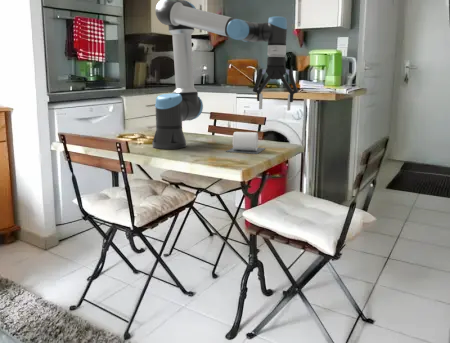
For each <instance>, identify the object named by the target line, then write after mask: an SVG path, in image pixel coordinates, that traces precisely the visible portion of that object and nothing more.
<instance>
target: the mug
mask: <svg viewBox="0 0 450 343" xmlns="http://www.w3.org/2000/svg"><path fill="white" fill-rule="evenodd" d="M232 148H233V149H234V150H243V151H257V148H259V133H258V132H255V131H254V132H252V131H234V132H233V134H232Z"/></svg>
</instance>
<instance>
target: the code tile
mask: <svg viewBox="0 0 450 343" xmlns="http://www.w3.org/2000/svg"><path fill="white" fill-rule="evenodd" d="M265 149H266V147H258V148H257V151H243V150H234V149H233V147H231V148H230V149H228V150H226V151H225V153H226V152H227V153H239V154H251V155H252V154H254V155H259V154H260V153H261V152H262V151H264V150H265Z"/></svg>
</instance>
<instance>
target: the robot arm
mask: <svg viewBox="0 0 450 343" xmlns="http://www.w3.org/2000/svg"><path fill="white" fill-rule="evenodd" d="M154 11H155V16H156V18H157V20H158V21H159V22H160V23H161V24H163V25H164V26H168V33H169V34H170V35H171V36H172V48H173V49H172V50H173V51H172V52H173V62H174V63H173V66H174V79H175V89H174V90H173V91H172V93H163V94H159V95H158V96H157V97H156V98H155V104H154V106H155V132H154V136H153V139H152V147H153V148H155V149H161V150H174V149H176V150H177V149H183V148H186V147H187V140H186V137H185V135H184V131H183V122H185V121H192V120H196V119H197V118H198V117H200V115H201V114H202V112H203V110H204V109H203V108H204V104H203V100H202V99H201V97H200V96H199V92H198V90H197V89H196V88H195V80H194V62H193V45H192V34H193V33H194V32H195V29H196V30H200V31H204V32H209V33H211V34H212V33H213V34H216V35H219V36H224V37H227V38H229V39H230V38H231V39H233V40H235V41H242V42H245V43H257V42H262V43H263V42H267V58H266V59H267V60H266V69H265V68H264V69H263V68H260V69H259V70H258V76H257V78H256V81H255V84H254V87H253V89H252V92H253V93H256V102H258V103H259V104H258V110H262V109H263V93H262V92H263V90H264V89H265V87H266V86H267V85H268V83H269V82H270V81H271V80H280V81H281V82H282V84H283V85H284V87H285V88H286V90H287V92H288V93H289V94H287V105H286V106H287V107H286V108H287V109H286V110H287V111H291V103H293V102H294V95H295V94H297V93H298V92H299V89H298V87H297V84H296V81H295V78H294V75H293V74H294V71H293V69H292V68H289V69H287V68H286V57H285V56H286V55H287V33H288V20H287V18H286V17H285V16H269V17H268V21H267V22H252V21H247V20H244V19H240V18H235V17H231V16H227V15H224V14H223V15H222V14H219V13H215V12H211V11H208V10H207V11H206V10H202V9H198V8H196V6H195V5H194V4H193V3H191V2H189V1H187V0H159V1H158V2H157V3H156V6H155V10H154ZM265 73H266V75H267V76H266V78H265V79H264V81H263V82H262V84H261V81H262V79H263V76H264V75H265ZM286 73H287V75H288V76H289V81H290V84H291V85H290V84H289V83H288V81H287V79H286V78H285V75H286ZM260 84H261V85H260ZM291 86H292V88H291Z"/></svg>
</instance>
